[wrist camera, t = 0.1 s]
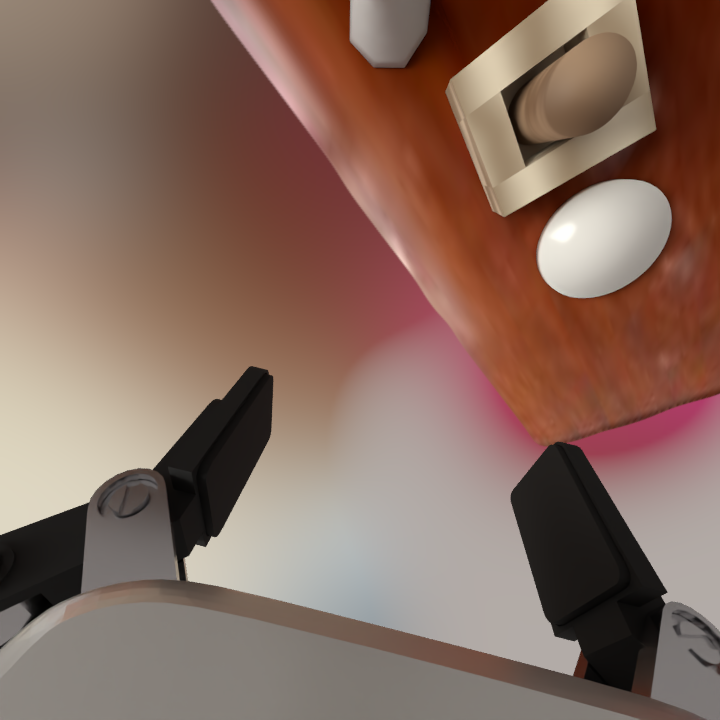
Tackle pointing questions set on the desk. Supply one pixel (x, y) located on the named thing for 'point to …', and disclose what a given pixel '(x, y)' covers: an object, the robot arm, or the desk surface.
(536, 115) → the walnut peg
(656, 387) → the desk surface
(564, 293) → the white round dome
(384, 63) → the flask
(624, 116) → the birch holder
